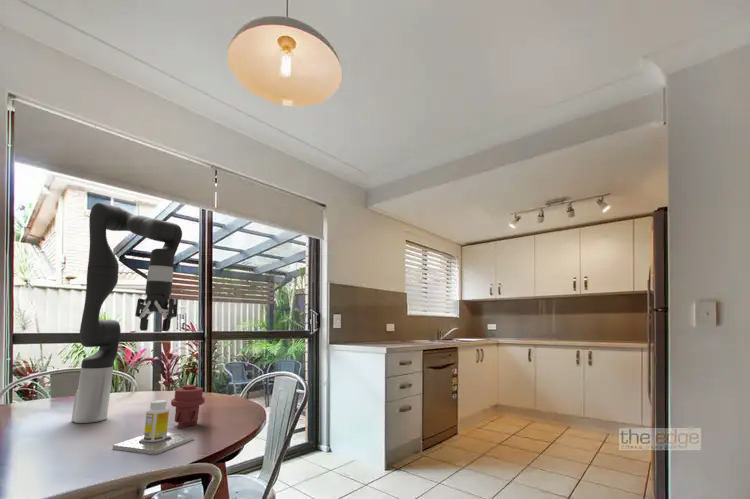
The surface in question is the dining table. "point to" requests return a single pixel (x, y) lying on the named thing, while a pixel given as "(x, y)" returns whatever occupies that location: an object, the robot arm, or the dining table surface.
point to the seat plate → (153, 444)
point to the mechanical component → (187, 405)
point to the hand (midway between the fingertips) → (154, 330)
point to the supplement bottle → (156, 421)
